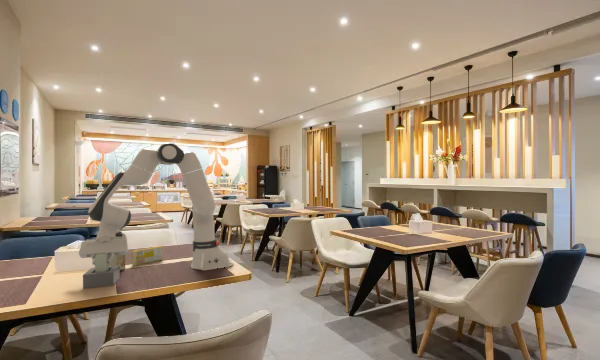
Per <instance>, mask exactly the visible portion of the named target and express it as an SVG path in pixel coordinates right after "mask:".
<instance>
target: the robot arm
mask: <svg viewBox="0 0 600 360" xmlns="http://www.w3.org/2000/svg"><path fill="white" fill-rule="evenodd" d="M174 164H175V165H176V166H177V167H178V168H179V170H180V174H181V176H182V179H183V182H184V184H185V188H186V190H187V193H188V195H189V198H190V201H191V205H192V226H193V227H192V228H193V240H192V252H193V253H192V261H191V265H190V268H191V269H194V270H201V271H210V270H217V268H218V269H224V267H225V268H231V267H232V266H233V265H234V262H233V260H231V259H230V257H229V254H228V252H227V251H226V250H224V249H223V248H222V247H220V246H219V245H221V244H220V241H219V240H217V239H216V238H215V218H214V212H215V210H216V207H217V206H216V202H215V199H214V196H213V194H212V191H211V188H210V186H209V184H208V182H207V179H206V176H205V173H204V170H203V168H202V164H201V162H200V160H199V158H198V156H197V154H196V153H195V152H194V151H190V150H189V151H187V150H186V151H184V150H183V149H182V148H180V147H179V146H178V145H177V144H175V143H172V142H164V143H162V144H161V145H160V146H159V147H158V149H152V148H148V147H147V148H146V147H145V148H142V149H140V151H139V152H138V153H137V154H136V156H135V157H134V159H133V160H132V162H131V164H130V166H129V167H128V168H127V169H126V170H124V171H120V172H118V173H117V174H116V175H115V176H114V177H113V178H112V180H111V181H110V182H109V183H108V185H107V186H106V187H105V188H104V189H103V191H102V192H101V193H100V195H99V196H98V197H97V198H96V200H94V201H93V202H92V204H91V205H90V206H89V208H88V211H87V214H88V216H89V218H90V219H91V220H92V221H95V222H99V229H98V231H97V234H96V238H95V239H93V238H92V239H85V240H83V241H82V242H80V243H81V244H80V247H79V250H78V255H79V257H80V258H81V259H86V258H91V260H92V262H91V263H92V265H94V266H95V255H97V254H102V253H108V256H111V257H110V258H109V259H107V264H109V265H110V263H111V260H113V258H114V257H115V256H118V255H125V256H126V255H127V254H129V245H128V244H129V243H128V238H127V235H126V233H123V232H122V233H119V232H118V230H119V229H122V230H123V229H124V228H125V227H127V226H128V225H129V224H130V222H131V220H132V219H131V218H132V212H131V210H130V209H128V208H126V207H123V206H120V205H117V204H114V203H111V202H109V200H111V198H112V197H113V196H114V194H115V193H116V192H117V191H118V189H120V188H121V187H125V186H135V187H136V186H137V187H138V186H143V185H145V184H147V183H148V182H149V181H150V180H151V178H152V176H153V175H154V172H155V170H156V168H158V166H159V165H164V166H172V165H174ZM230 266H231V267H230Z"/></svg>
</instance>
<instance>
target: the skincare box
mask: <svg viewBox="0 0 600 360" xmlns="http://www.w3.org/2000/svg"><path fill="white" fill-rule="evenodd" d="M110 257H111V256H110ZM109 266H120V271H122V270H125V269H126V255H118V256H115V257H114V258H113V260H111V263H110V264H109Z"/></svg>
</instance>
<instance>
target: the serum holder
mask: <svg viewBox="0 0 600 360" xmlns="http://www.w3.org/2000/svg"><path fill="white" fill-rule="evenodd" d="M120 271H121V270H120V266H110V265H109V271H108V272H96V273H95V267H91V268H89V269H88V270H87V271H86V272H84V274H83V275H82V289H91V288H92V289H93V288H94V289H95V288H101V287H102V288H103V287H111V286H112V287H113V286H115V285H116V283H117V282H118V281H119V280H120V277H121V276H120V273H121V272H120Z"/></svg>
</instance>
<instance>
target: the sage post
mask: <svg viewBox="0 0 600 360" xmlns="http://www.w3.org/2000/svg"><path fill="white" fill-rule="evenodd" d="M107 259H108V253H102V254H97V255H95V259H94V260H95V265H94V268H95V273H96V272H108V271H109V266H110V264H107Z"/></svg>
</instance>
